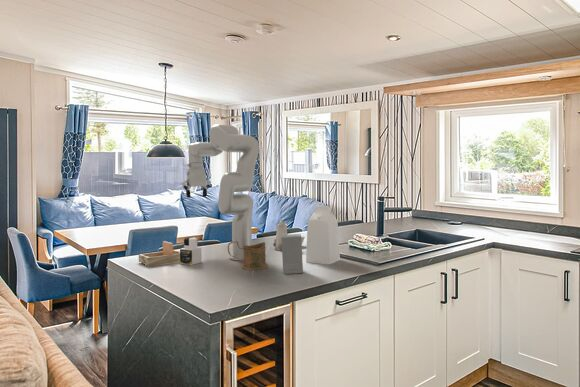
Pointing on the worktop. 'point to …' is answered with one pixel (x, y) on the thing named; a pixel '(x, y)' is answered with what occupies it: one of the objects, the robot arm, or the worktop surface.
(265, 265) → the mug
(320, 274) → the worktop surface
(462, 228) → the worktop surface
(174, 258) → the wooden tray
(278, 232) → the chinaware
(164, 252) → the pusher plate
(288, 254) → the skincare box
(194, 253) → the medicine bottle
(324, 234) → the milk
